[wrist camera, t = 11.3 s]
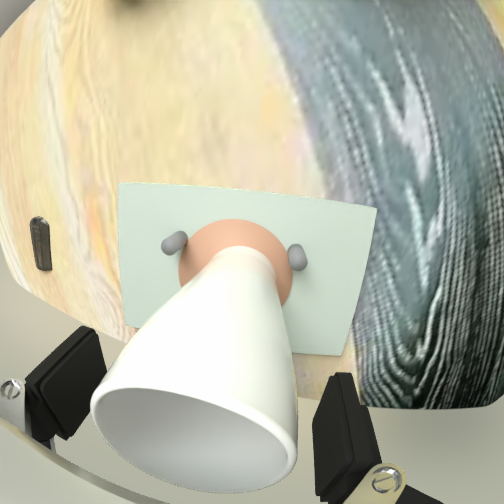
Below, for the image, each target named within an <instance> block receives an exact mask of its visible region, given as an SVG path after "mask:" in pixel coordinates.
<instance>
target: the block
mask: <svg viewBox="0 0 504 504" xmlns="http://www.w3.org/2000/svg"><path fill="white" fill-rule="evenodd" d="M30 231H31V238H32V245H33V251H34V257H35V262H36V267H37V268H38V269H40V270H52V263H51V251H50V233H49V224H48V222H47V221H46V220H45V219H44V218H43V217H40V216H37V217H34V218H32V219H31V221H30Z"/></svg>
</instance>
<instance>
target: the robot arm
mask: <svg viewBox="0 0 504 504" xmlns="http://www.w3.org/2000/svg"><path fill="white" fill-rule="evenodd" d="M106 373H107V369H106V365H105V362H104V358H103V354H102V350H101V346H100V342H99V337H98V335H97V334H96V332H95V330H94V329H92V328H89V327H86V326H81V327H79V328H78V329H77V330H76V331H75V332H74V333H72V334H71V335H70V336H69V337H68V338H67V339H66V340H65V341H64V342H63V343H62V344H60V345H59V346H58V347H57V348H56V349H55V350H54V351H53V352H52V353H51V354H50V355H49V356H48V357H47V358H46V359H44V360H43V361H42V362H41V363H40V364H39V365H38V366H37V367H36V368H35V369H34V370H33V371H32V372H31V373H30V374H29V375H28V376H27V377H26V378H25V381H26V384H25V385H24V383H23V382H22V381H21V380H20V379H18V378H8V379H6V380H4V381H3V382H1V384H0V504H169V503H165V502H162V501H159V500H156V499H153V498H149V497H147V496H144V495H141V494H138V493H136V492H133V491H130V490H128V489H125V488H123V487H120V486H118V485H116V484H113V483H111V482H109V481H106V480H105V479H102V478H100V477H98V476H96V475H94V474H92V473H90V472H88V471H86V470H84V469H82V468H80V467H79V466H77V465H75V464H73V463H71V462H69V461H68V460H66V459H64V458H63V457H61V456H59V455H58V454H56V450H55V443H54V435H55V434H57V435H58V436H59V437H61V438H62V439H64V440H67V439H68V438H69V437H71V436H73V435H74V433H75V432H76V430H77V429H78V428H79V426H80V425H81V424H82V422H83V421H84V419H85V418H86V416H87V415H88V414H89V412H90V402H91V398H92V395H93V393H94V391H95V390H96V388H97V387H98V385H99V384H100V382H101V381H102V379H103V378H104V376H105V374H106ZM312 433H313V449H314V467H315V493H316V496H320V501H321V502H328V504H443V503H442V502H440V501H438V500H436V499H434V498H432V497H430V496H428V495H425V494H424V493H421V492H420V491H418V490H416V489H414V488H412V487H410V486H408V485H406V476H405V473H404V471H403V470H402V469H401V468H400V467H398V466H397V465H394V464H391V463H382V460H381V456H380V452H379V448H378V445H377V440H376V436H375V432H374V429H373V425H372V421H371V418H370V414H369V411H368V408H367V407H366V406H365V405H360V402H359V398H358V395H357V391H356V387H355V384H354V380H353V377H352V374H351V373H342V372H336V373H335V375H334V376H330V377H329V380H328V382H327V385H326V388H325V390H324V393H323V396H322V398H321V401H320V403H319V406H318V408H317V411H316V413H315V416H314V418H313V422H312Z"/></svg>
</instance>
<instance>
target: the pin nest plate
mask: <svg viewBox="0 0 504 504" xmlns="http://www.w3.org/2000/svg"><path fill="white" fill-rule="evenodd" d="M376 212H377V209H376V208H374V207H370V206H364V205H358V204H352V203H346V202H340V201H334V200H327V199H320V198H313V197H306V196H299V195H291V194H283V193H274V192H266V191H256V190H246V189H236V188H225V187H213V186H199V185H184V184H166V183H141V182H122V183H118V248H119V267H120V280H121V291H122V301H123V310H124V318H125V325H127V326H131V327H135V328H139V329H140V328H141V326H142V325H143V324H144V323H145V322H146V321H147V320H148V319H149V318H150V317H151V316H152V315H153V314H154V313H155V312H156V311H157V310H158V309H159V308H160V307H161V306H162V305H163V304H164V303H165V302H166V301H168V300H169V299H170V298H171V297H172V296H173V295H174V294H175V293H176V292H177V291H178V290H180V289H181V288H182V287H183V286H184V285H185V284H186V283H187V282H188V281H189V280H191V279H192V278H193V277H194V276H195V275H196V274H197V273H198V272H199V271H200V270H201V269H202V268H204V267H205V266H206V265H207V263H208V262H209V261H210V259H211V258H212V257H213V256H214V255H215V254H216V253H218V252H219V251H221V250H223V249H225V248H227V247H231V246H247V247H251V248H254V249H256V250H258V251H260V252H261V253H262V254H264V255H265V256H266V257H267V258H268V259H269V260H270V262H271V263H272V265H273V267H274V269H275V272H276V277H277V288H278V293H279V298H280V302H281V307H282V311H283V316H284V320H285V325H286V329H287V333H288V338H289V342H290V347H291V352H292V353H303V354H318V355H338V356H341V354H342V351H343V348H344V345H345V342H346V339H347V336H348V333H349V329H350V326H351V323H352V319H353V316H354V312H355V309H356V305H357V301H358V297H359V294H360V290H361V286H362V282H363V277H364V273H365V269H366V264H367V260H368V255H369V250H370V245H371V240H372V235H373V230H374V224H375V218H376Z"/></svg>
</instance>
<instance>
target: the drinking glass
mask: <svg viewBox="0 0 504 504" xmlns="http://www.w3.org/2000/svg"><path fill="white" fill-rule="evenodd" d="M90 411H91V416H92V419H93V422H94V424H95V426H96V428H97V430H98V431H99V433H100V434H101V436H102V437H103V439H104V440H105V441H106V442H107V443H108V444H109V446H111V448H112V449H113V450H115V451H116V452H117V453H118V454H119V455H120V456H121V457H123V458H124V459H125V460H127V461H128V462H129V463H131V464H132V465H134V466H135V467H137V468H139V469H140V470H142V471H144V472H146V473H148V474H149V475H151V476H154V477H156V478H158V479H160V480H163V481H165V482H168V483H171V484H174V485H177V486H180V487H184V488H188V489H192V490H197V491H202V492H210V493H226V494H227V493H244V492H251V491H256V490H260V489H263V488H266V487H269V486H271V485H274V484H275V483H278V482H279V481H281V480H282V479H284V478H285V477H286V476H287V475H288V474H289V473H290V472H291V471H292V470H293V468H294V466H295V464H296V461H297V440H298V400H297V386H296V377H295V369H294V363H293V357H292V352H291V347H290V342H289V338H288V333H287V329H286V325H285V320H284V316H283V311H282V307H281V302H280V298H279V293H278V288H277V277H276V272H275V269H274V267H273V265H272V263H271V262H270V260H269V259H268V258H267V257H266V256H265V255H264V254H262V253H261V252H260V251H258V250H256V249H254V248H251V247H247V246H231V247H227V248H225V249H223V250H221V251H219V252H218V253H216V254H215V255H214V256H213V257H212V258H211V259H210V261H209V262H208V263H207V265H206V266H205V267H204V268H202V269H201V270H200V271H199V272H198V273H197V274H196V275H195V276H194V277H193V278H192V279H191V280H189V281H188V282H187V283H186V284H185V285H184V286H183V287H182V288H181V289H180V290H178V291H177V292H176V293H175V294H174V295H173V296H172V297H171V298H170V299H169V300H168V301H166V302H165V303H164V304H163V305H162V306H161V307H160V308H159V309H158V310H157V311H156V312H155V313H154V314H153V315H152V316H151V317H150V318H149V319H148V320H147V321H146V322H145V323H144V324H143V325H142V326H141V328H140V329H139V330H138V331H137V332H136V333H135V335H134V336H133V337H132V338H131V339H130V341H129V342H128V343H127V345H126V346H125V347H124V349H123V350H122V351H121V353H120V354H119V355H118V357H117V358H116V360H115V361H114V362H113V364H112V366H111V367H110V368H109V370H108V371H107V373H106V374H105V376H104V378H103V379H102V381H101V382H100V384H99V385H98V387H97V388H96V390H95V391H94V393H93V395H92V398H91V402H90Z"/></svg>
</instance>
